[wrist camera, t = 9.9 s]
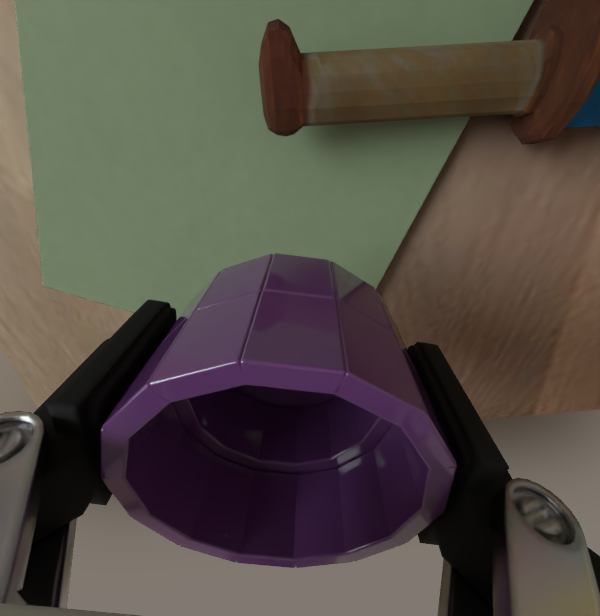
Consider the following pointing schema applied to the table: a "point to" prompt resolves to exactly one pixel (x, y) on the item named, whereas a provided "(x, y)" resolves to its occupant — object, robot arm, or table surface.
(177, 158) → the placemat
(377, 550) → the plum dish
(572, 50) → the knife
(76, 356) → the table surface
